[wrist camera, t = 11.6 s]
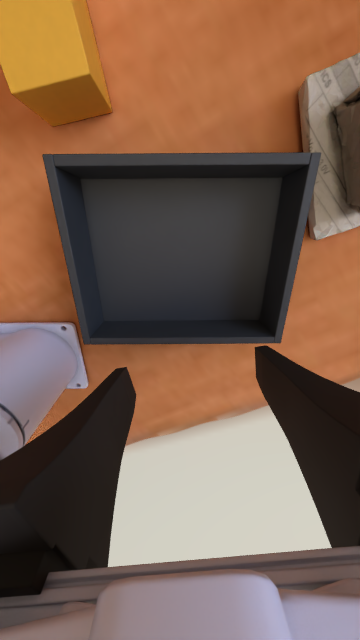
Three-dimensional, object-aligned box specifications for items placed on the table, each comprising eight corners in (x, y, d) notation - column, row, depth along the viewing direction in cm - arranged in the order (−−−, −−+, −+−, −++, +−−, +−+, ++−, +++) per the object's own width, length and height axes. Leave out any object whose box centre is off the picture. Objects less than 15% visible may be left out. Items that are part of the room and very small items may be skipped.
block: (52, 127, 15) (10, 94, 11) (-5, -45, 12) (-89, -169, 8) (112, 112, 14) (90, 73, 11) (70, -68, 11) (18, -209, 8)
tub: (100, 324, 21) (83, 344, 17) (73, 171, 16) (41, 153, 12) (263, 323, 21) (280, 343, 17) (289, 169, 16) (322, 151, 12)
